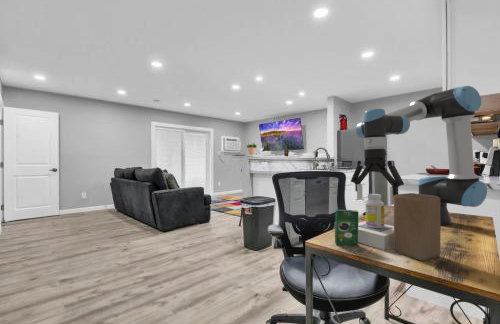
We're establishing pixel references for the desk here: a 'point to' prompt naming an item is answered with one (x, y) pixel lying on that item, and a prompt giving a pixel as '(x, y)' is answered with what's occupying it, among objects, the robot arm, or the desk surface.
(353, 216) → the coffee box
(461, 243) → the desk surface
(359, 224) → the plinth
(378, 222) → the supplement bottle
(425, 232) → the block
